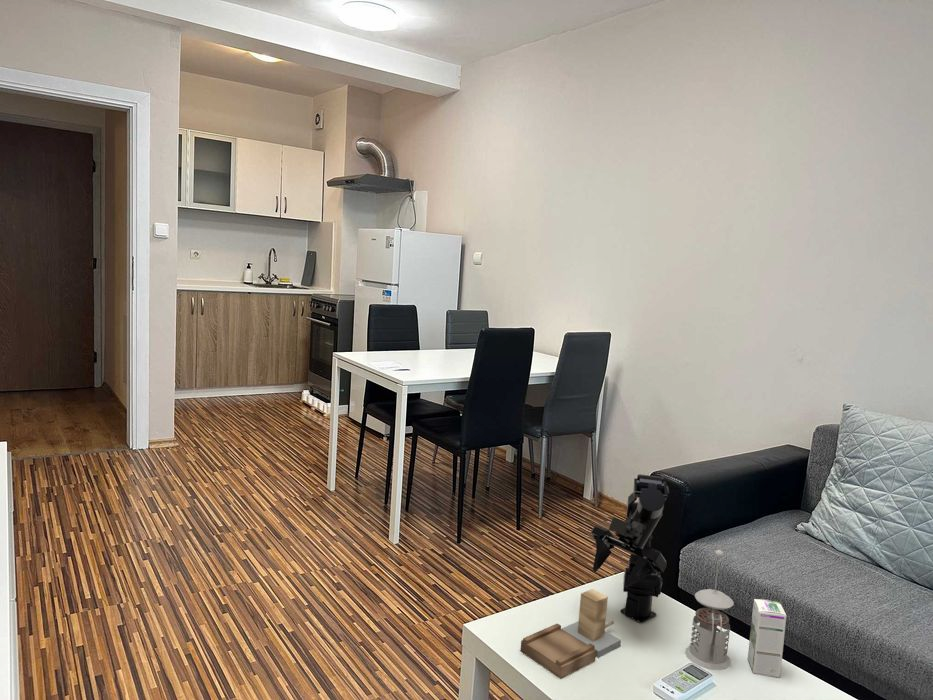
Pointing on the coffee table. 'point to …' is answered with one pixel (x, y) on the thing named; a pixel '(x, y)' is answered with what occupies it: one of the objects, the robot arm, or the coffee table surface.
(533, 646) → the walnut shelf lane
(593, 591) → the oak mallet
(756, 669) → the syrup box
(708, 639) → the french press
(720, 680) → the coffee table surface
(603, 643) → the grey rubber pad
